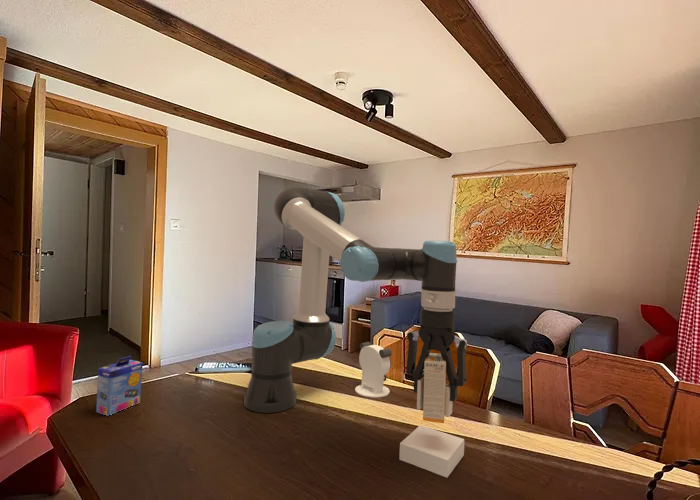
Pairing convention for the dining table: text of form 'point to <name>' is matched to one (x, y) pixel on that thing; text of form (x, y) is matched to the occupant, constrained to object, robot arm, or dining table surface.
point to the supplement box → (434, 388)
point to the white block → (432, 450)
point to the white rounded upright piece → (373, 370)
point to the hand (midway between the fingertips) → (434, 410)
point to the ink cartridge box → (118, 386)
